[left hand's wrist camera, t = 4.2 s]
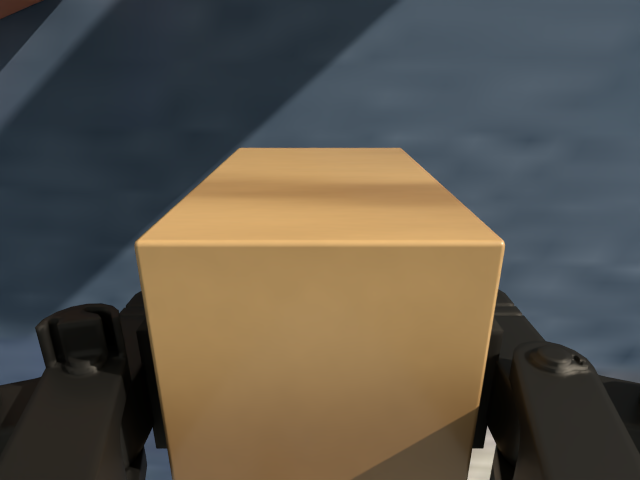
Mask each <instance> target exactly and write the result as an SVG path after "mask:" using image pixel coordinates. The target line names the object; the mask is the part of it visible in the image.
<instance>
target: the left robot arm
mask: <svg viewBox="0 0 640 480" xmlns="http://www.w3.org/2000/svg"><path fill="white" fill-rule="evenodd" d="M35 329H36V333H37V336H38V340H39V344H40V347H41V351H42V355H43V359H44V362H45V366H46V369H45V371H44V373H43V375H42V377H39V378H35V379H31V380H26V381H20V382H15V383H10V384H5V385H0V480H145V477H146V469H147V461H146V454H145V449H144V444H145V442H146V440H147V438H148V436H149V434H150V431H151V429H152V427H153V432H154V437H155V443H156V448H167V443H166V437H165V431H164V425H163V419H162V413H161V406H160V400H159V394H158V388H157V382H156V376H155V369H154V363H153V357H152V351H151V345H150V339H149V333H148V326H147V320H146V314H145V308H144V302H143V296H142V291H140V292H139V293H137V294H135V295H134V297H133V298H132V299H131V300H130V301H129V303H128V304H127V305H126V308H124V309H123V310H122V311H121V312H120V313H119V310H117V309H116V308H115V307H113V306H111V305H106V304H101V303H100V304H84V305H78V306H73V307H70V308H67V309H64V310H61V311H58V312H56V313H54V314H52V315H50V316H48V317H47V318H45V319H43V320H42V321H41V322H40V323H39V324H38V325H37V326H36V327H35ZM487 426H488V428H489V430H490V432H491V434H492V436H493V438H494V440H495V442H496V449H495V454H494V459H493V465H492V470H491V475H490V480H640V383H635V382H630V381H625V380H620V379H614V378H609V377H605V376H601V375H598V374H597V372H596V370H595V368H594V367H593V365H592V364H591V363H590V362H589V361H588V360H587V358H585V357H584V356H582V355H581V354H579V353H578V352H576V351H575V350H572V349H570V348H567V347H565V346H562V345H560V344H555V343H551V342H547V341H545V340H544V339H543V338H542V336H541V335H540V334H539V333H538V332H537V331H536V329H535V328H534V327H533V326H532V325H531V323H530V322H529V321H528V320H527V319H526V318H525V316H522V313H521V312H520V310H519V309H518V308H517V307H516V306H514V303H513V302H512V301H511V300H510V299H509V298H508V296H507V295H506V294H505V293H504V292H502V291H500V290H499V289H498V292H497V298H496V305H495V311H494V317H493V323H492V329H491V335H490V342H489V348H488V354H487V360H486V366H485V372H484V379H483V385H482V391H481V397H480V403H479V409H478V416H477V422H476V428H475V434H474V440H473V446H472V448H483V447H484V441H485V436H486V430H487Z"/></svg>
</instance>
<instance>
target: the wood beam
mask: <svg viewBox="0 0 640 480" xmlns="http://www.w3.org/2000/svg"><path fill="white" fill-rule="evenodd" d="M134 246H135V253H136V259H137V265H138V271H139V277H140V283H141V290H142V296H143V302H144V308H145V314H146V320H147V326H148V333H149V339H150V345H151V351H152V357H153V363H154V369H155V376H156V382H157V388H158V394H159V400H160V406H161V413H162V419H163V425H164V431H165V437H166V443H167V449H168V456H169V462H170V468H171V474H172V480H467V477H468V471H469V465H470V459H471V453H472V446H473V440H474V434H475V428H476V422H477V416H478V409H479V403H480V397H481V391H482V385H483V379H484V372H485V366H486V360H487V354H488V348H489V342H490V335H491V329H492V323H493V317H494V311H495V305H496V298H497V292H498V286H499V280H500V274H501V268H502V261H503V255H504V249H505V244H504V241H503V240H502V239H501V238H500V237H499V236H498V235H497V234H495V233H494V232H493V231H492V230H491V229H490V228H489V227H488V226H487V225H485V224H484V223H483V222H482V221H481V220H480V219H479V218H478V217H477V216H475V215H474V214H473V213H472V212H471V211H470V210H469V209H468V208H467V207H465V206H464V205H463V204H462V203H461V202H460V201H459V200H458V199H457V198H455V197H454V196H453V195H452V194H451V193H450V192H449V191H448V190H447V189H445V188H444V187H443V186H442V185H441V184H440V183H439V182H438V181H437V180H436V179H434V178H433V177H432V176H431V175H430V174H429V173H428V172H427V171H426V170H424V169H423V168H422V167H421V166H420V165H419V164H418V163H417V162H416V161H414V160H413V159H412V158H411V157H410V156H409V155H408V154H407V153H406V152H404V151H403V150H402V149H401V148H239V149H238V150H236V151H235V152H234V153H233V154H232V155H231V156H230V157H229V158H228V159H226V160H225V161H224V162H223V163H222V164H221V165H220V166H219V167H218V168H216V169H215V170H214V171H213V172H212V173H211V174H210V175H209V176H207V177H206V178H205V179H204V180H203V181H202V182H201V183H200V184H199V185H197V186H196V187H195V188H194V189H193V190H192V191H191V192H190V193H189V194H187V195H186V196H185V197H184V198H183V199H182V200H181V201H180V202H179V203H177V204H176V205H175V206H174V207H173V208H172V209H171V210H170V211H169V212H167V213H166V214H165V215H164V216H163V217H162V218H161V219H160V220H158V221H157V222H156V223H155V224H154V225H153V226H152V227H151V228H150V229H148V230H147V231H146V232H145V233H144V234H143V235H142V236H141V237H140V238H138V239H137V240H136V242H135V245H134Z"/></svg>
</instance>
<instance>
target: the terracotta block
mask: <svg viewBox="0 0 640 480" xmlns="http://www.w3.org/2000/svg"><path fill="white" fill-rule="evenodd" d="M40 1H42V0H0V19H2V18H4V17H6V16H8V15H11V14H13V13H15V12H17V11H20V10H22V9H24V8H26V7H29V6H31V5H33V4H36V3H38V2H40Z"/></svg>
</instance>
